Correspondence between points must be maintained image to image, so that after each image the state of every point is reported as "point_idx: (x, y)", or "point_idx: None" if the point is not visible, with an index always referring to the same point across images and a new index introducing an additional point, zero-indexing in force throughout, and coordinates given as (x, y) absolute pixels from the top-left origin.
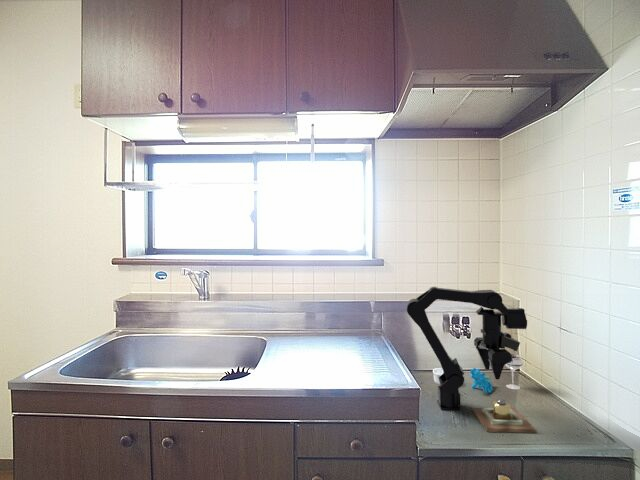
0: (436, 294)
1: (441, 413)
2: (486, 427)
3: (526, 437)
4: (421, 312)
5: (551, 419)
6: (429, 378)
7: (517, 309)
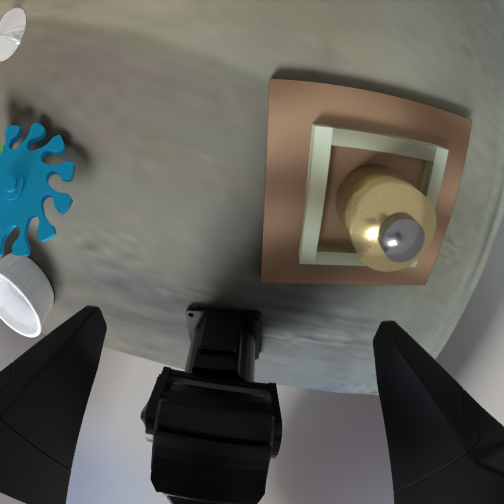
0: None
1: (281, 358)
2: (420, 284)
3: (479, 172)
4: None
5: None
6: None
7: None
